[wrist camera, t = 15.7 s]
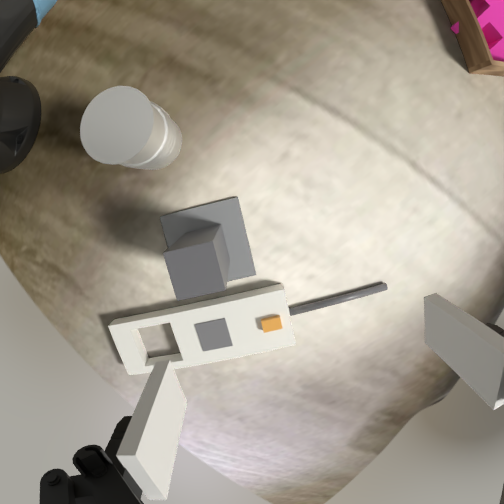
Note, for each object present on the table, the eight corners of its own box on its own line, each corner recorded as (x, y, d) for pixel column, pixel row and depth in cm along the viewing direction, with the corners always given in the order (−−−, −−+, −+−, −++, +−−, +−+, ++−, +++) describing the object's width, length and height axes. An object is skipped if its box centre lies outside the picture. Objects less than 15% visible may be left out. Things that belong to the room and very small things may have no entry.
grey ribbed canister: (196, 133, 38) (171, 105, 23) (166, 181, 39) (125, 180, 24) (152, 108, 37) (108, 72, 22) (123, 154, 38) (66, 142, 23)
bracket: (470, -2, 33) (501, -23, 23) (507, 39, 34) (541, 25, 24) (450, 28, 34) (486, 6, 24) (491, 73, 36) (531, 60, 26)
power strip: (133, 366, 44) (127, 378, 41) (114, 319, 43) (105, 328, 39) (386, 310, 44) (395, 319, 40) (381, 258, 42) (391, 263, 39)
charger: (195, 268, 41) (177, 301, 29) (185, 232, 40) (163, 253, 28) (230, 260, 41) (225, 290, 29) (221, 223, 40) (212, 240, 28)
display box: (469, 73, 36) (491, 64, 30) (435, -10, 33) (453, -24, 27) (517, 78, 36) (539, 72, 30) (488, 2, 33) (506, -8, 27)
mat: (181, 290, 42) (180, 291, 42) (160, 216, 40) (159, 216, 39) (256, 274, 42) (256, 274, 41) (237, 197, 40) (237, 197, 39)
